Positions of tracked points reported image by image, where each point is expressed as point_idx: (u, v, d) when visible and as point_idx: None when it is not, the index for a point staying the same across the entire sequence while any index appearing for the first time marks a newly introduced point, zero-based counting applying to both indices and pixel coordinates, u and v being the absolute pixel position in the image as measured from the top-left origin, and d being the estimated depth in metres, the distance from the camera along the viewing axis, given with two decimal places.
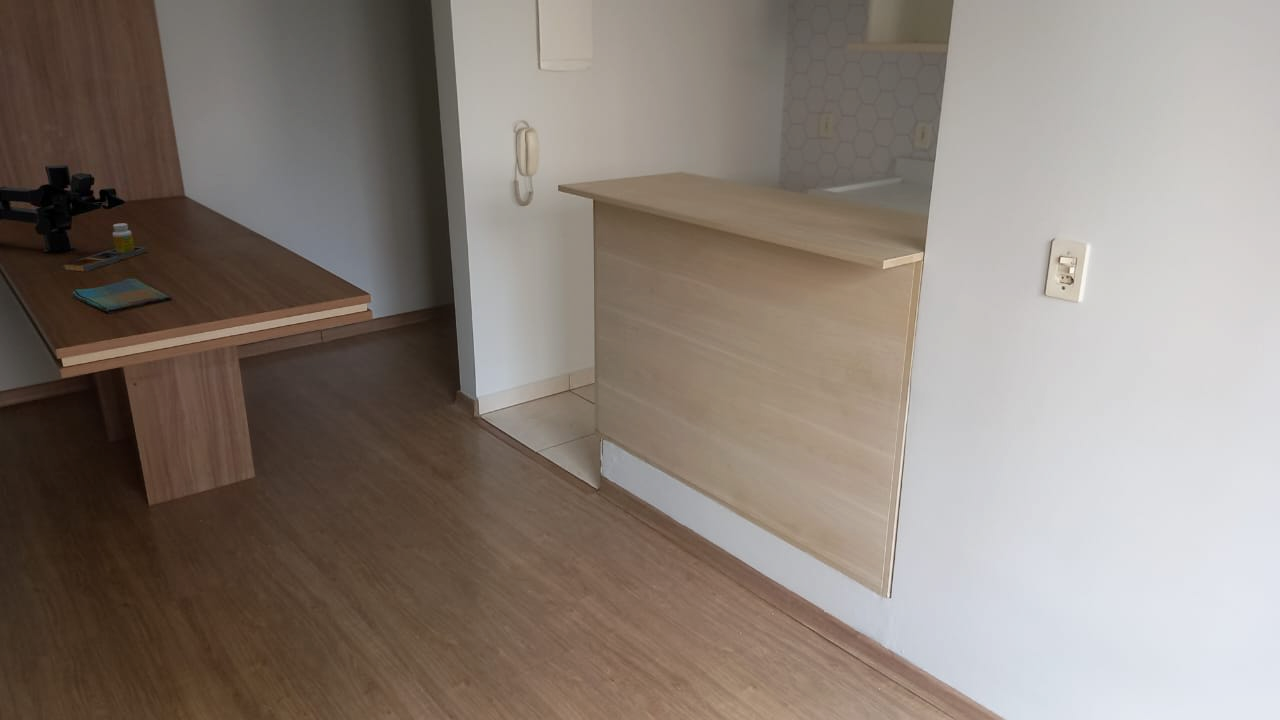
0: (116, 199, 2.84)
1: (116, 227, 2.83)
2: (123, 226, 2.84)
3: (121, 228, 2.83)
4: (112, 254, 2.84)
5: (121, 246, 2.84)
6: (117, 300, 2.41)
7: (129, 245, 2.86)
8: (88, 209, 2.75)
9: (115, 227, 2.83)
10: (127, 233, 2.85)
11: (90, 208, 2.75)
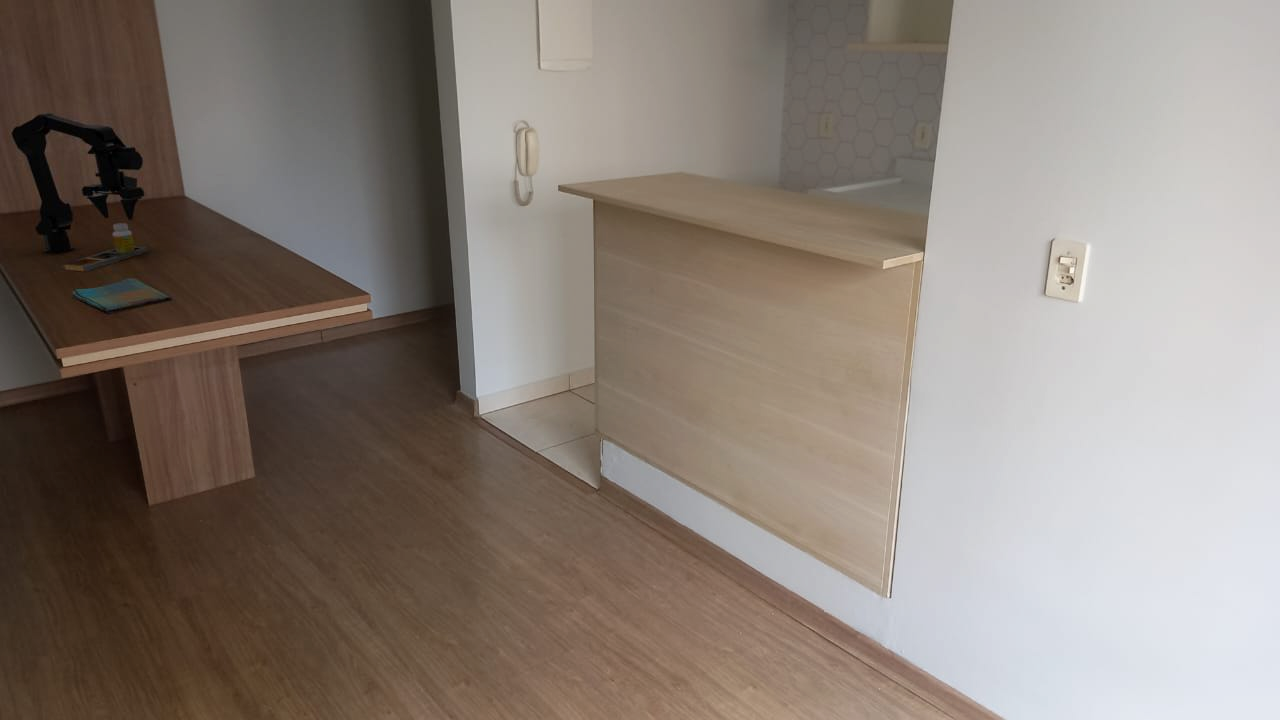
0: (106, 208, 2.85)
1: (116, 227, 2.83)
2: (123, 226, 2.84)
3: (121, 228, 2.83)
4: (112, 254, 2.84)
5: (121, 246, 2.84)
6: (117, 300, 2.41)
7: (129, 245, 2.86)
8: (129, 210, 2.80)
9: (115, 227, 2.83)
10: (127, 233, 2.85)
11: (129, 211, 2.81)
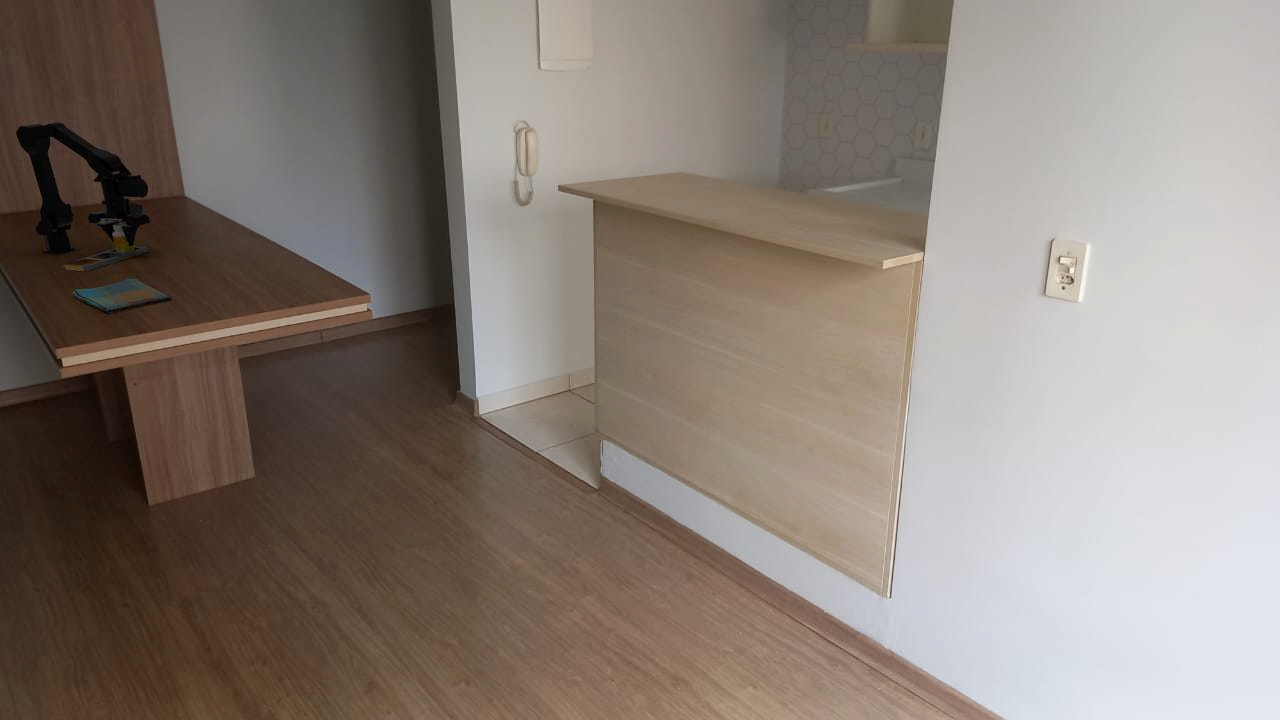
0: None
1: (116, 227, 2.83)
2: None
3: (121, 228, 2.83)
4: (112, 254, 2.84)
5: (121, 246, 2.84)
6: (117, 300, 2.41)
7: (129, 245, 2.86)
8: (130, 236, 2.84)
9: (115, 227, 2.83)
10: None
11: (131, 238, 2.84)
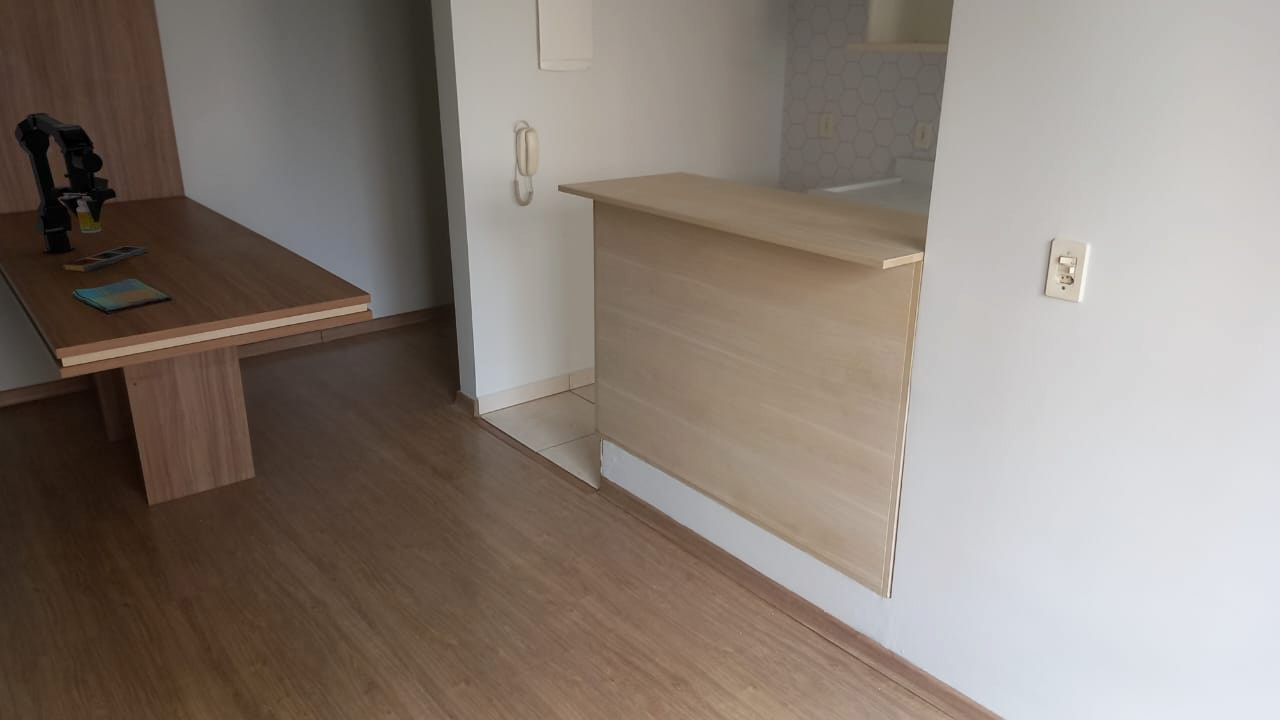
0: None
1: (80, 202, 2.69)
2: None
3: (86, 203, 2.70)
4: (112, 254, 2.84)
5: (86, 222, 2.71)
6: (117, 300, 2.41)
7: (94, 221, 2.72)
8: (95, 211, 2.70)
9: (79, 202, 2.69)
10: None
11: (96, 213, 2.71)
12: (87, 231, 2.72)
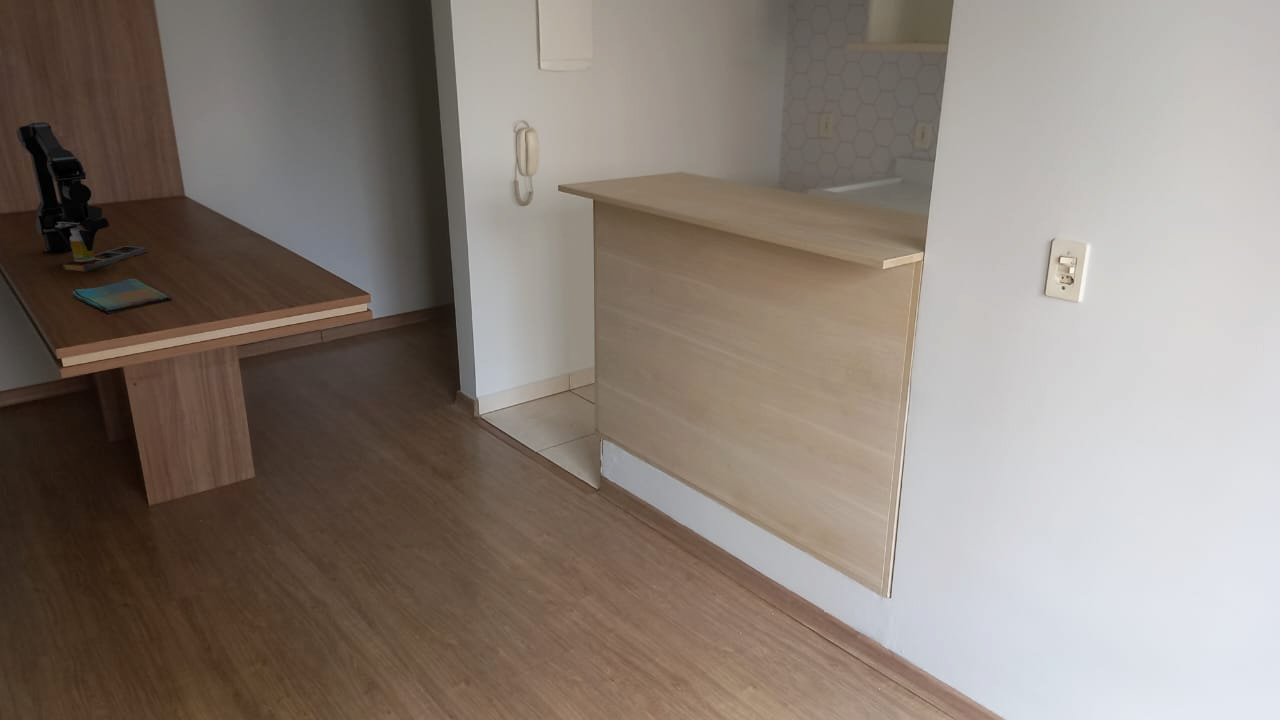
0: None
1: (73, 231, 2.68)
2: None
3: None
4: (112, 254, 2.84)
5: (79, 251, 2.70)
6: (117, 300, 2.41)
7: (87, 250, 2.71)
8: (88, 241, 2.69)
9: (72, 231, 2.68)
10: None
11: (89, 242, 2.70)
12: (80, 260, 2.71)
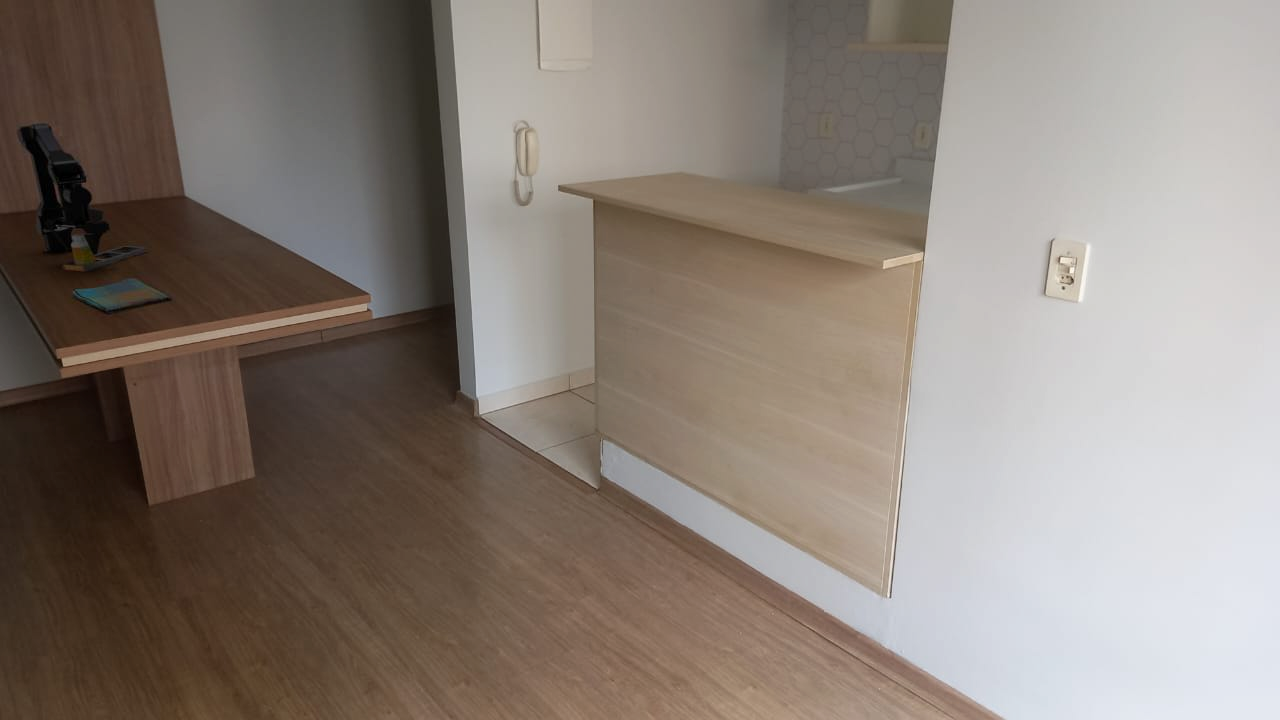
0: (71, 242, 2.73)
1: (75, 237, 2.69)
2: (82, 236, 2.70)
3: (80, 238, 2.70)
4: (112, 254, 2.84)
5: (80, 257, 2.71)
6: (117, 300, 2.41)
7: (89, 257, 2.72)
8: (93, 244, 2.69)
9: (74, 237, 2.69)
10: (87, 243, 2.71)
11: (94, 246, 2.70)
12: None
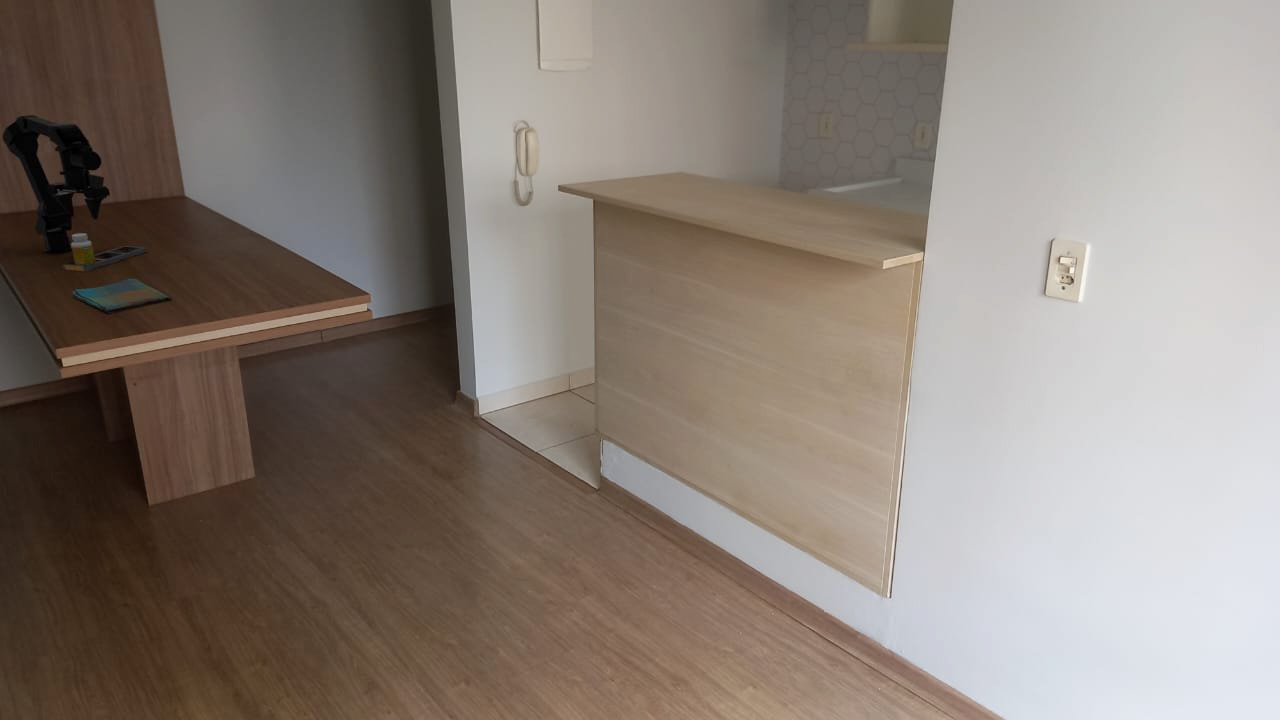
0: (72, 207, 2.80)
1: (75, 237, 2.69)
2: (82, 236, 2.70)
3: (80, 238, 2.70)
4: (112, 254, 2.84)
5: (80, 257, 2.71)
6: (117, 300, 2.41)
7: (88, 257, 2.72)
8: (93, 209, 2.76)
9: (74, 237, 2.69)
10: (87, 243, 2.71)
11: (94, 211, 2.76)
12: None
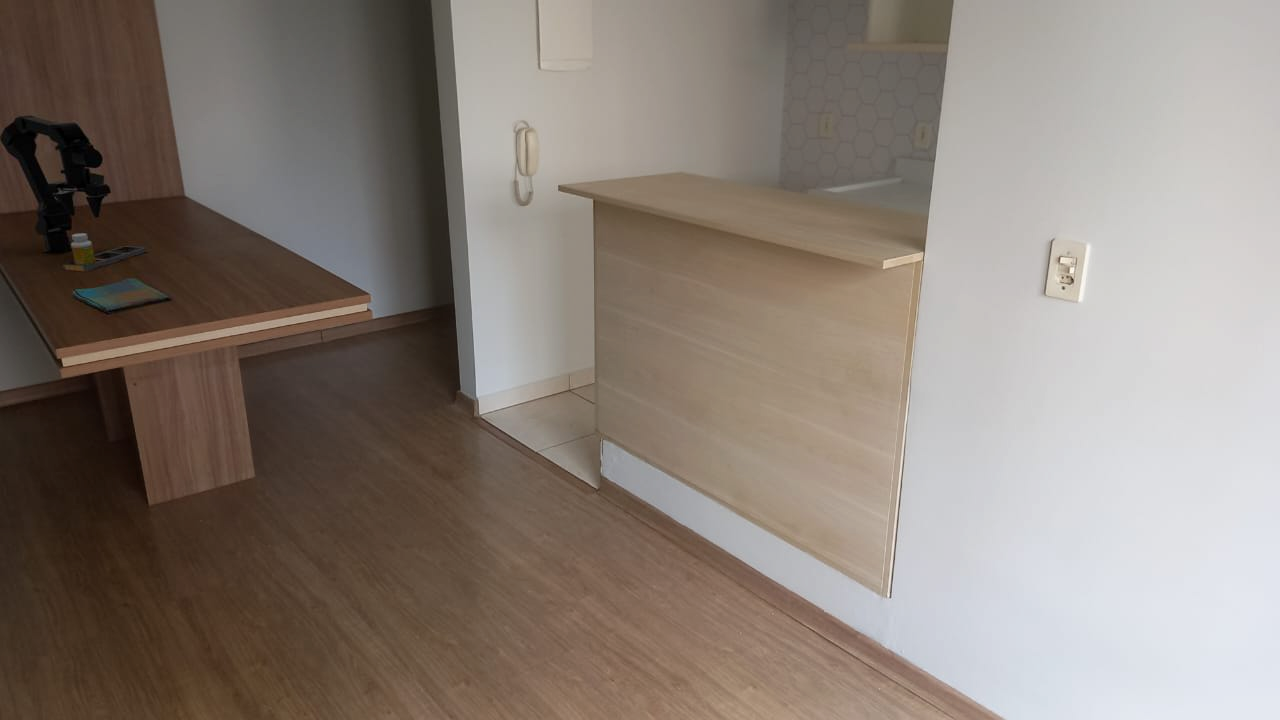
0: (72, 206, 2.81)
1: (75, 237, 2.69)
2: (82, 236, 2.70)
3: (80, 238, 2.70)
4: (112, 254, 2.84)
5: (80, 257, 2.71)
6: (117, 300, 2.41)
7: (89, 257, 2.72)
8: (95, 207, 2.76)
9: (74, 237, 2.69)
10: (87, 243, 2.71)
11: (96, 209, 2.77)
12: None
